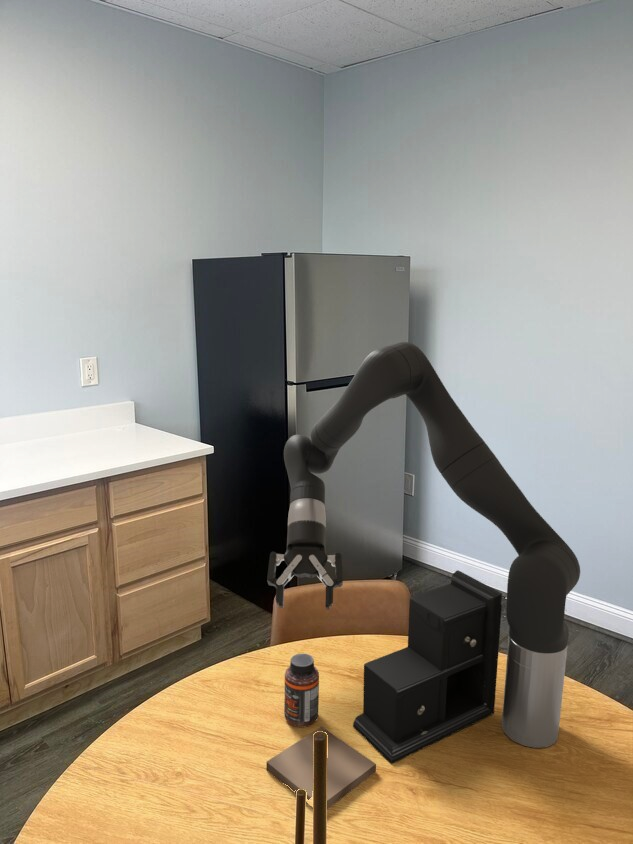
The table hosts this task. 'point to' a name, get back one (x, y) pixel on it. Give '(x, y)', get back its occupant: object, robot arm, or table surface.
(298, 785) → the brown flat square block
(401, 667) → the black drawer cabinet
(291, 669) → the supplement bottle
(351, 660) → the table surface
